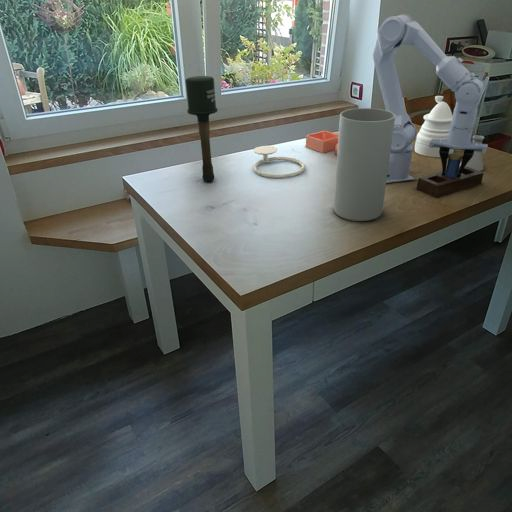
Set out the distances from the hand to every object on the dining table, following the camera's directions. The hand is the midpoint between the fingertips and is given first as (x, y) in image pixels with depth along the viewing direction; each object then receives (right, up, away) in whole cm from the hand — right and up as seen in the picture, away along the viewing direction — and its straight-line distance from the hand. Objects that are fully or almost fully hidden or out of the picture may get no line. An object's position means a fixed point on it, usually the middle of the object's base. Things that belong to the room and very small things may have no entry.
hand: (451, 174), depth 125 cm
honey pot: (+6, +13, +28) cm, 32 cm away
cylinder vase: (-29, -12, -10) cm, 33 cm away
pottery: (-28, +15, +33) cm, 46 cm away
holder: (0, -3, +2) cm, 4 cm away
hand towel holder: (-49, +6, +19) cm, 53 cm away
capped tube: (0, -3, +2) cm, 3 cm away
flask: (+12, +4, +14) cm, 19 cm away
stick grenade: (-71, 0, +11) cm, 72 cm away
